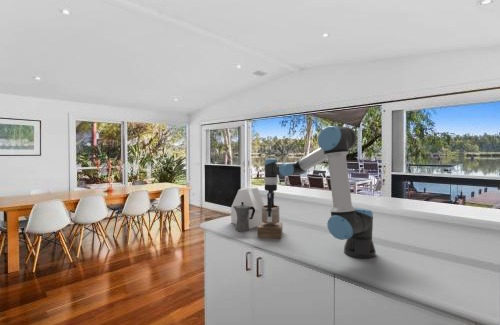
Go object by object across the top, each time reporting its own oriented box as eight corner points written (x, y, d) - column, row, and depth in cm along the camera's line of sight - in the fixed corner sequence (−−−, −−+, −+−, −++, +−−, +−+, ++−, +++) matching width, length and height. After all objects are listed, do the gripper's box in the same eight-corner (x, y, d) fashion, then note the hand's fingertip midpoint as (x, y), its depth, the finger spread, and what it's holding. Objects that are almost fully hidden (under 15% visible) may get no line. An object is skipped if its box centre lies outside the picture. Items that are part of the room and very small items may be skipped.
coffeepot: (230, 230, 192) (230, 202, 191) (236, 226, 201) (236, 200, 200) (252, 232, 187) (252, 204, 186) (257, 229, 195) (257, 201, 194)
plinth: (281, 238, 175) (281, 228, 175) (257, 237, 177) (257, 227, 177) (282, 231, 189) (282, 222, 188) (260, 230, 191) (260, 221, 191)
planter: (279, 220, 187) (279, 205, 187) (279, 224, 177) (279, 208, 176) (262, 219, 189) (262, 204, 188) (261, 223, 178) (261, 208, 177)
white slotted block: (265, 224, 207) (265, 189, 205) (248, 228, 197) (248, 191, 195) (247, 219, 221) (247, 186, 220) (231, 222, 211) (231, 187, 210)
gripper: (266, 181, 193) (266, 215, 195) (262, 186, 171) (262, 224, 172) (278, 181, 192) (278, 215, 193) (275, 186, 169) (275, 224, 170)
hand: (270, 219), depth 183 cm, fingers closed on planter, 11 cm apart
